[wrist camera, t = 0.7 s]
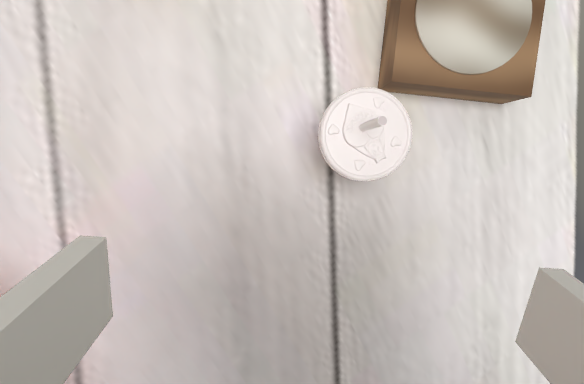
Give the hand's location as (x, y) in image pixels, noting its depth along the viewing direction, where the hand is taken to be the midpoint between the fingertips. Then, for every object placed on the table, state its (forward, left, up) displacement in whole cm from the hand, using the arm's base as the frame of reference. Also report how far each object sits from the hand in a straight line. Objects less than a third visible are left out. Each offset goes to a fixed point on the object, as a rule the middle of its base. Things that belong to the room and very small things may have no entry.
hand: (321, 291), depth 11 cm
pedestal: (+17, -13, -23) cm, 32 cm away
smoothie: (+6, -4, -23) cm, 25 cm away
